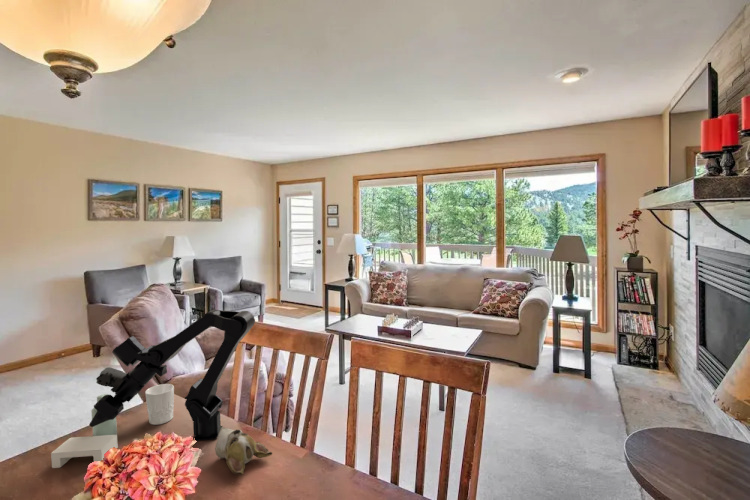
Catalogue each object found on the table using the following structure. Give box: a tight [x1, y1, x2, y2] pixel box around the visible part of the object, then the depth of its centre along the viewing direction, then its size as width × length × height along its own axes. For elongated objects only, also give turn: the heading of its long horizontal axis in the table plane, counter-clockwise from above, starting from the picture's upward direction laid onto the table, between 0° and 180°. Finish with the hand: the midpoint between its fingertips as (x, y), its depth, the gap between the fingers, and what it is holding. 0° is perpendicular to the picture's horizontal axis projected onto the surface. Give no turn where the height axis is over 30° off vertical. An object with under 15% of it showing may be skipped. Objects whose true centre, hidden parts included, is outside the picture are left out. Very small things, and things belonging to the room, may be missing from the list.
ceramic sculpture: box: [214, 427, 273, 476], centre depth 97 cm, size 11×9×15 cm
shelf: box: [50, 434, 119, 469], centre depth 100 cm, size 12×7×4 cm, turn 96°
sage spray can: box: [91, 393, 118, 436], centre depth 108 cm, size 6×6×13 cm
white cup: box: [144, 383, 175, 426], centre depth 119 cm, size 8×8×10 cm
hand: (99, 417), depth 108 cm, fingers open, 9 cm apart
